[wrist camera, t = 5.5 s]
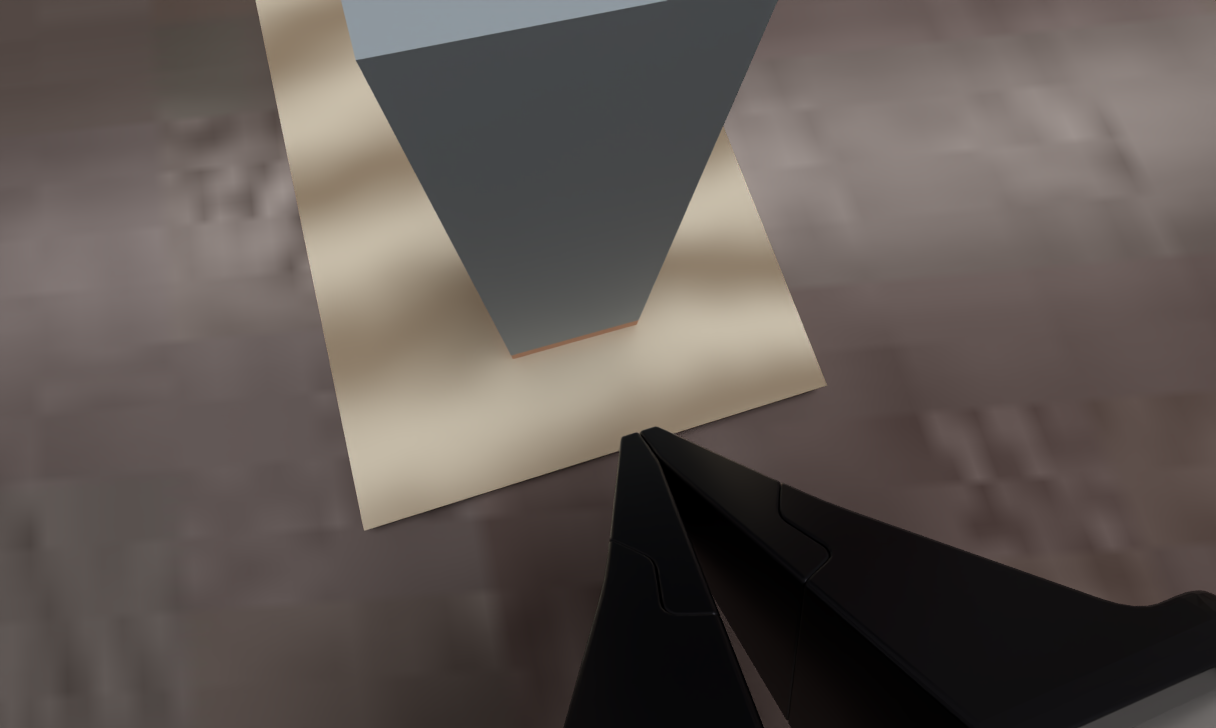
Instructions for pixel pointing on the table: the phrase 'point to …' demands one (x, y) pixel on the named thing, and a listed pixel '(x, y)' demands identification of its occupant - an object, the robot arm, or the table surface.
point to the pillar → (557, 139)
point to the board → (462, 327)
